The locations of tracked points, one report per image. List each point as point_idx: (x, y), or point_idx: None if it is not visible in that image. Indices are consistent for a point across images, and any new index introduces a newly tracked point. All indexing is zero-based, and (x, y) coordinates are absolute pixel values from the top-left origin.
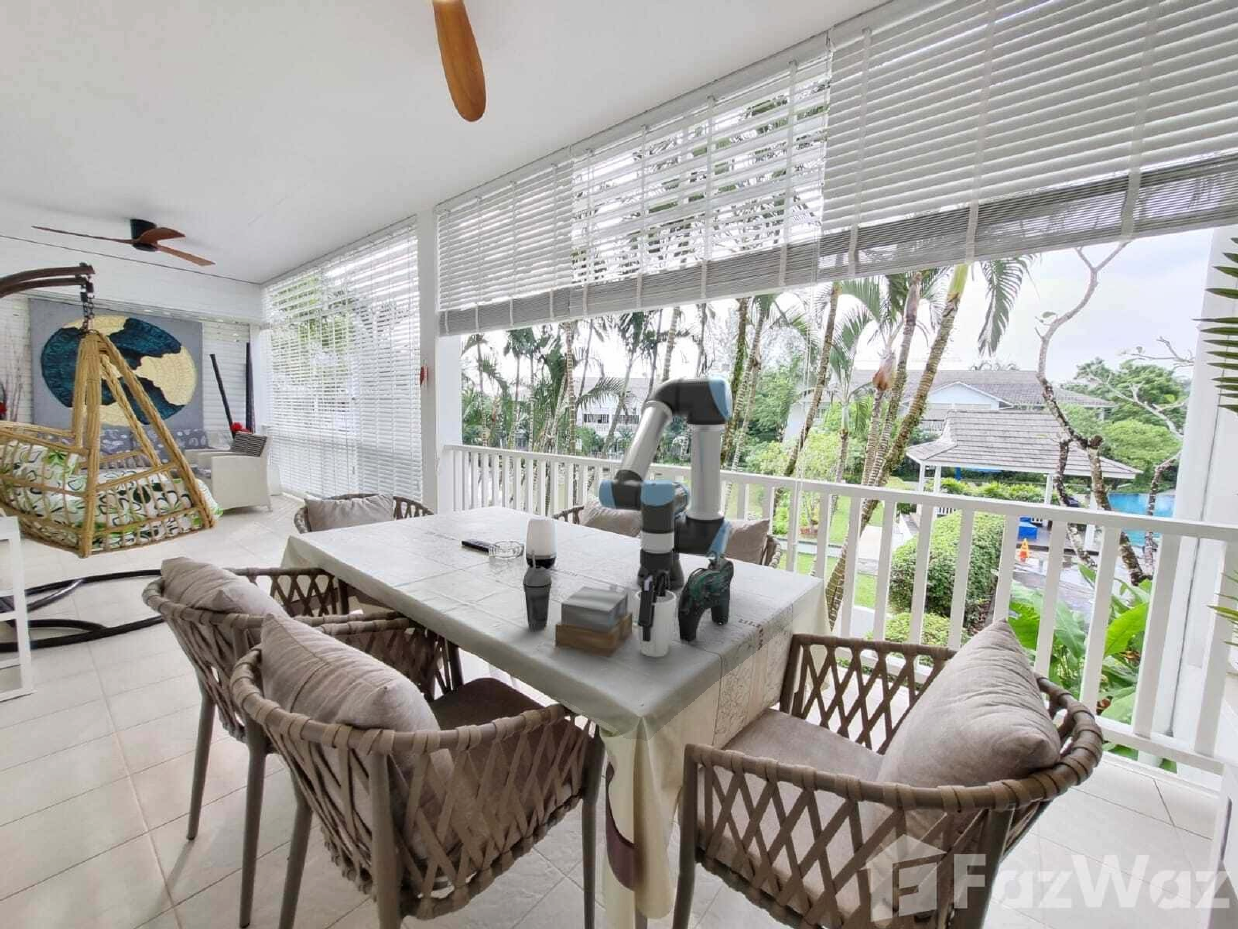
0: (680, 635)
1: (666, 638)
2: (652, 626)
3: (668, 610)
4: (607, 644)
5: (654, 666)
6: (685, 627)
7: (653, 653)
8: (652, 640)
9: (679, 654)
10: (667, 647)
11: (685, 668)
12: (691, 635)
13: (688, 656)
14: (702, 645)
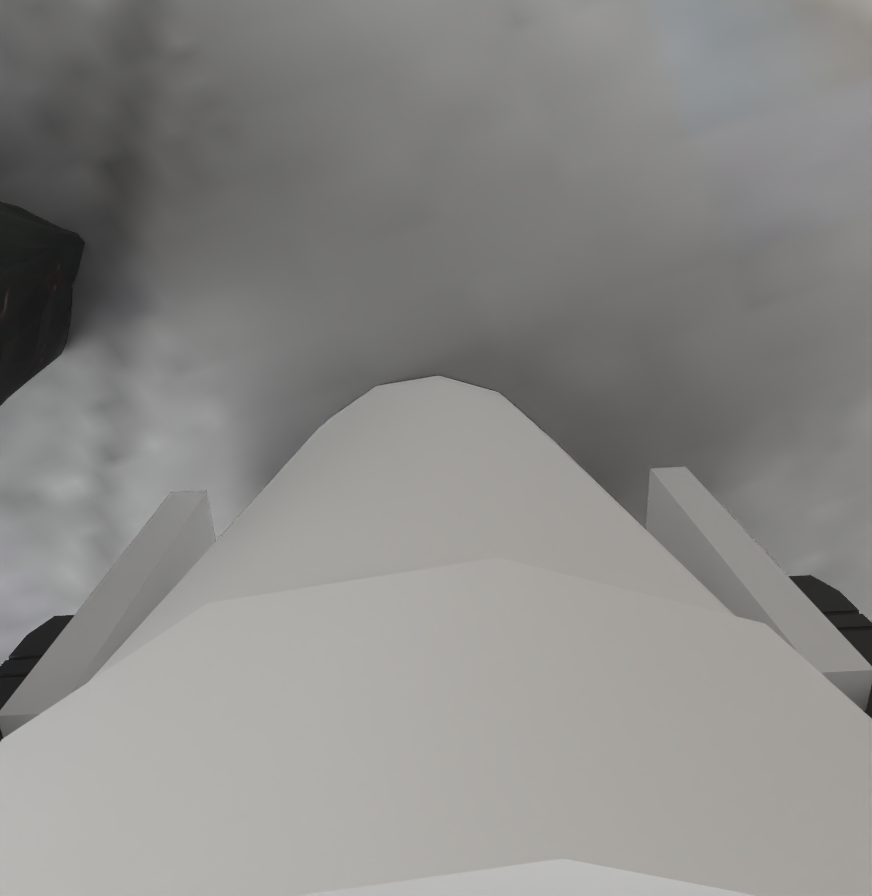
0: (47, 358)
1: (524, 430)
2: (860, 687)
3: (832, 691)
4: None
5: (727, 398)
6: (3, 310)
7: (661, 471)
8: (756, 553)
9: (397, 250)
10: (451, 389)
11: (669, 90)
12: (2, 218)
13: (395, 140)
14: (43, 52)
